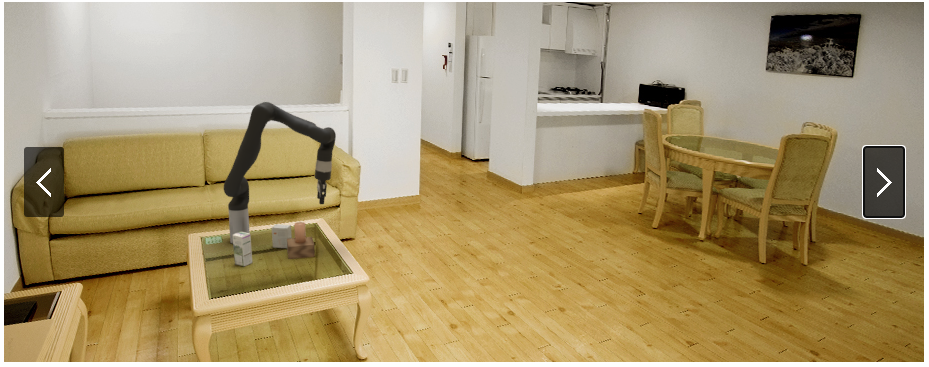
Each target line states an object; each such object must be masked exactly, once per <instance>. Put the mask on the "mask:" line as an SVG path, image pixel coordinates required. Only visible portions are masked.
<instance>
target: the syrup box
mask: <svg viewBox="0 0 929 367" xmlns="http://www.w3.org/2000/svg"><path fill="white" fill-rule="evenodd" d="M232 236H233V243H232V244H233V247H232V248H233V258H234V265H235V266H241V267H246V266H248V265H252V263H253V254H252V253H253V251H252V240H251V239H252V238H251V233H245V232H238V233H236V234H234V235H232Z"/></svg>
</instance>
